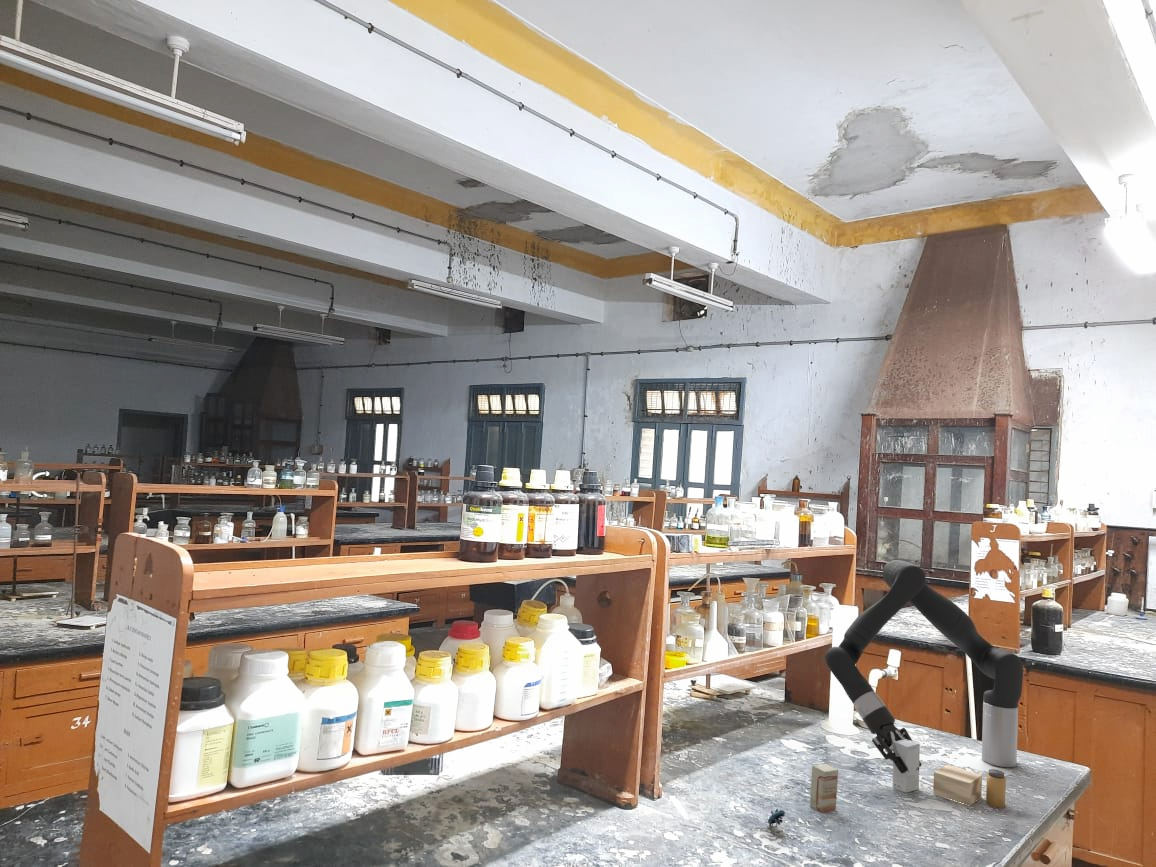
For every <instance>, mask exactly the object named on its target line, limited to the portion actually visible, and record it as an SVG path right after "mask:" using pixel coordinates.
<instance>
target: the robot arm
mask: <svg viewBox="0 0 1156 867" xmlns="http://www.w3.org/2000/svg"><path fill="white" fill-rule="evenodd" d="M882 574H883V575H882V576H883V581H884V582H885V583H886V585H887V586H888V587H889V590H888V592H887V593H886V594H885V595H884V596H883V597H882V598H880V599H879V600H878V601H877V602H875V603H874V604H873V605H871V606H869V607H868V608H867V609H865V610H864V611H863V612H861V613H860V614H859V615H858V616H857V617H856V619H854V620H853V622H852V623H851V624H850V626H849V627H848V628H847V629H846V631H845V633H844V634H843V635H844V636H843V640H842V641H841V642H840V644H839V645H838V646H832V647H829V648H828V650H826V652H825V656H824V661H825V664H826V666H827V667H828V669H829V671H830V672H831V673H832V674H833V675H834V677H835V678H836V680H837V681H838V682H839V684H840V685H841V686H842V688H843V690H844V691H845V694H846V695H847V697H848V698H849V700H850V701H851V703H852V704H853V706H854V709H855V710H856V711H857V714H858V715H859V717H860V719H862V721H863V722H864V724H865V725H866V728H867V729H868V730H869V731H870V733H871V734H873V735H876V736H875V737H874V738H872V739H871V742H872V743H873V745H874V746H875V748H877V750H878V751H879V753H880V755H882V757H883V759H885V760H886V761H887V760H890V761H891V762H892V763H893V762H894V763H895V765H896V766H897V768H898V770H899V771H900V772H901V773H905V772H906V771H908V768H907V766H906V765H905V763H904V762H903V760H902V759H901V757H898V756H899V754H898V751H897V750H896V745H895V744H894V742H896V741H899V740H905V739H908V740H911V741H913V739H912V737H911V735H910V734H909V732H908V730H907V729H906V728H905V727H901V728H900V729H898V727H897V726H896V725H895V721H896V720H895V718H894V716H893V715H892V713H891V712H890V710H889V709H888V706H886V704H885V703H884V701H883V700H882V698H881V696H879V695H878V693H876V691H875V690H874V688H873V687H872V685H871V684H870V682H869V681H868V680H867V679H866V677H865V676H864V675H863V674H862V673H861V672H860V670H859V669H858V667H857V663H858V662H859V661H860V658H861V656H862V655H863V653H864V651H865V649H866V648H867V647H868V646H869V644H871V642H872V641H873V640H874V639H875V637H876V636H877V635H878V633H879V632H880V631H881V630H882V629H883V627H885V625H886V624H888V623H889V621H890V620H891V619H892V618H893V617H894V616H895V615H896V614H897V613H898V612H900V611H901V609H902V608H904V607H905V606H906V605H907V604H908V603H910V604H911V605H913V606H914V607H915V609H916V610H918V612H919V614H921V615H922V616H923V617H924V618H925V619H926V620H927V621H928V622H929V623H930V624H932V626H933V627H934V628H935V629H936V630H937V631H939V633H941V634H942V635H943V636H944V638H945V637H946V639H948V640H949V641H950V642H951V643H952V644H954V645H955V646H956V647H957V648H958V649H960V650H961V651H962V652H963V653H964V654H965V655H966V656H967V657H968V658H969V659H970V660H971V661H972V662H973V664H975V666H976V667H977V668H978V669H979V671H980V672H982V673H983V675H985V676H987V677H988V678H991V679H993V680H994V682H993V684H994V685H993V689H988V690H985V691H984V692H983V698H982V699H983V700H982V701H983V702H982V730H981V731H982V734H981V735H982V736H981V737H982V738H981V759H982V760H983V762H986V763H988V764H990V765H993V766H996V767H997V766H998V767H1002V768H1015V767H1017V762H1018V761H1017V757H1018V727H1019V725H1018V724H1019V723H1018V722H1019V718H1018V717H1019V715H1018V714H1019V702H1020V700H1021V698H1022V694H1023V693H1022V692H1023V691H1022V690H1023V681H1024V665H1023V662H1022V660H1021V658H1020V656H1018V655H1017V654H1015V653H1013V652H1010V651H1007V650H1005V649H1001V648H998V647H996V646H994V645H993V644H991V643H990V642H988V640H986V639H985V638H983V637H982V636H981V634H980V633H979V632H978V630H977V627H976V626H975V623H974V621H973V620H972V618H971V617H970V616H969V615H968V614H967V613H966V612H965V611H964V610H963V609H961V607H959V605H957V604H956V603H955V602H953V601H951V600H950V599H949V598H948V597H946V596H944V595H943V594H941V593H940V592H938V591H936V590H934V589H933V588H932V587H930V586H929V585H928V584H926V581H927V579H926V578H927V576H926V574H925V571H924V570H923V569H922V568H921V567H919V565H917V564H914V563H911V562H908V561H906V560H902V559H894V560H890V561H888V562H887V563H886V564H885V565H884V567H883V570H882ZM922 765H923V764H922V762H921V760H919V768H920V767H922Z"/></svg>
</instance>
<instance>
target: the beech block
mask: <svg viewBox="0 0 1156 867" xmlns="http://www.w3.org/2000/svg"><path fill="white" fill-rule="evenodd" d="M932 785H933V788H932V789H933V790H932V793H933V794H932V795H934V794H936V795H935V796H937V795H938V796H937V797H940V796H941V797H940V798H943V797H946V798H949V799H952V800H955V801H957V802H956V803H958V802H961V803H964V804H967V805H970V806H971V804H972V803H973V802H974V803H976V802H977V801H978V800H980V799H981V798H982V792H983V791H982V788H983V774H979V773H977V772H974V771H970V770H967V769H963V768H960V767H956V766H953V765H950V764H945V765H944V766H942V767H940V768H939V769H936V770H935V771H934V772H933V783H932ZM980 797H981V798H980ZM946 798H945V799H946ZM979 798H980V799H979ZM949 799H948V800H949ZM952 800H951V801H952ZM976 800H977V801H976ZM955 801H954V802H955ZM975 801H976V802H975ZM961 803H960V804H961ZM974 803H973V804H974ZM964 804H963V805H964ZM973 804H972V805H973ZM967 805H966V806H967Z"/></svg>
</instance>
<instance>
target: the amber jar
mask: <svg viewBox="0 0 1156 867" xmlns="http://www.w3.org/2000/svg"><path fill="white" fill-rule="evenodd" d="M985 788H986V791H985V792H986V796H985V803H986V802H987V803H986V804H987V805H989V806H991V807H993V808H999V809H1000V808H1002V809H1003V808H1005V807H1006V798H1007V797H1006V796H1007V794H1006V790H1007V777H1006V775H1005V772H1004V771H1002V770H1000V769H993V768H991V769H988V772H987V773H986V787H985Z"/></svg>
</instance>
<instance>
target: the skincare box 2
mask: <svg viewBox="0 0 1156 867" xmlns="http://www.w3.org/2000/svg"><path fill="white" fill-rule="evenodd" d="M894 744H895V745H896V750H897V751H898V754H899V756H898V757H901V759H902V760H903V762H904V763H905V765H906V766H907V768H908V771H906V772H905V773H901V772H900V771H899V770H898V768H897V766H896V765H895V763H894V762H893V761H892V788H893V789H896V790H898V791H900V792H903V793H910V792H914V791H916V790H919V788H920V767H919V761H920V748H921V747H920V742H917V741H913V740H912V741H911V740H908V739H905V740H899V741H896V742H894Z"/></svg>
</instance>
